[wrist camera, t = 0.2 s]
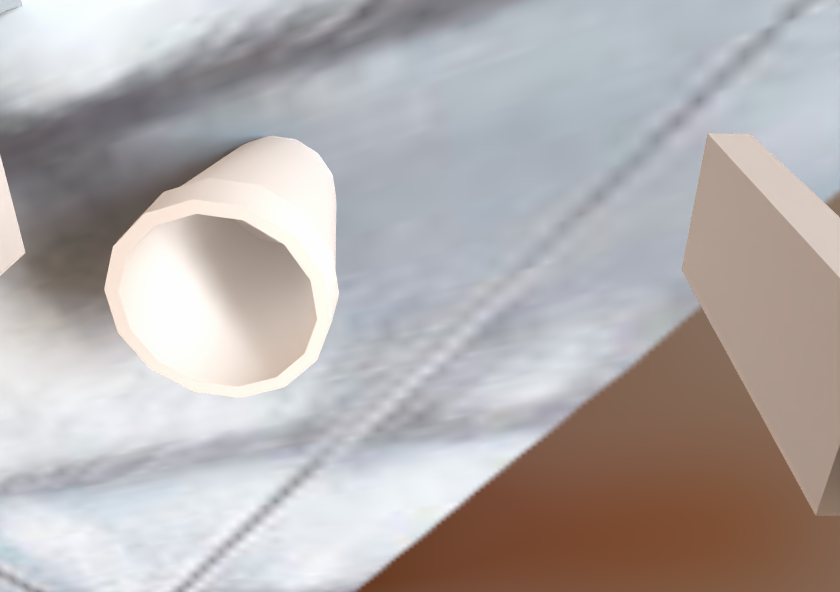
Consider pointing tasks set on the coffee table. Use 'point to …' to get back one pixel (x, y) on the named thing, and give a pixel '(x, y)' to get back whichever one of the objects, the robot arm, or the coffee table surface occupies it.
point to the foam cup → (232, 272)
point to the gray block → (9, 4)
